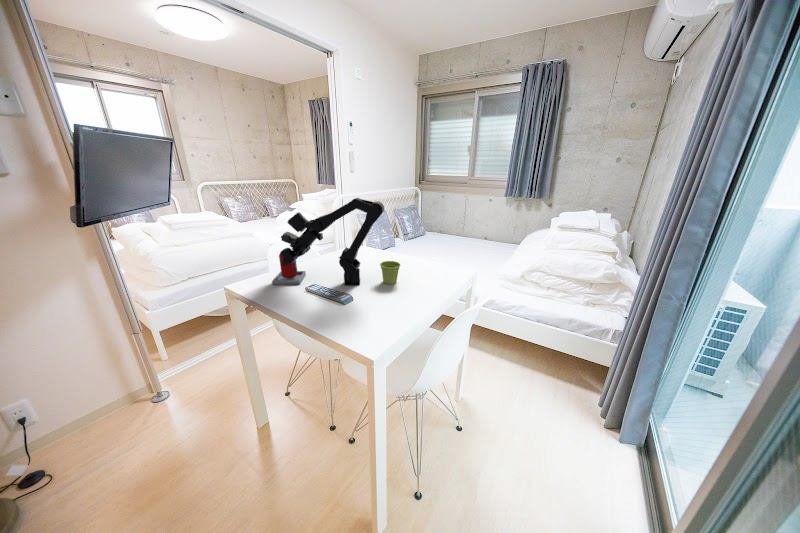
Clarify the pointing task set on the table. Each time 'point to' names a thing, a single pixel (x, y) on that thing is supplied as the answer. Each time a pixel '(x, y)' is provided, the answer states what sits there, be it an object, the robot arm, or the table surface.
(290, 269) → the beverage can
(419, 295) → the table surface
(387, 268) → the plant pot
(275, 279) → the slate tray
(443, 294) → the table surface
